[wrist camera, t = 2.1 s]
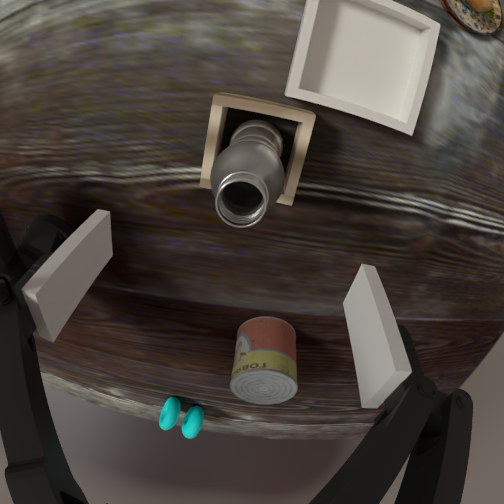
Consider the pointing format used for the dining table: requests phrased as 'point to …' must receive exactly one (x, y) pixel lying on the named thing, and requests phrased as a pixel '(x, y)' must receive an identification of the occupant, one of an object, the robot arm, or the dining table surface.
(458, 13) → the patterned ceramic bowl
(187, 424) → the turquoise yo-yo
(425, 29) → the plastic tray
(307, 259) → the dining table surface
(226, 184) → the plastic bottle
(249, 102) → the wooden collar
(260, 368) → the canned food
